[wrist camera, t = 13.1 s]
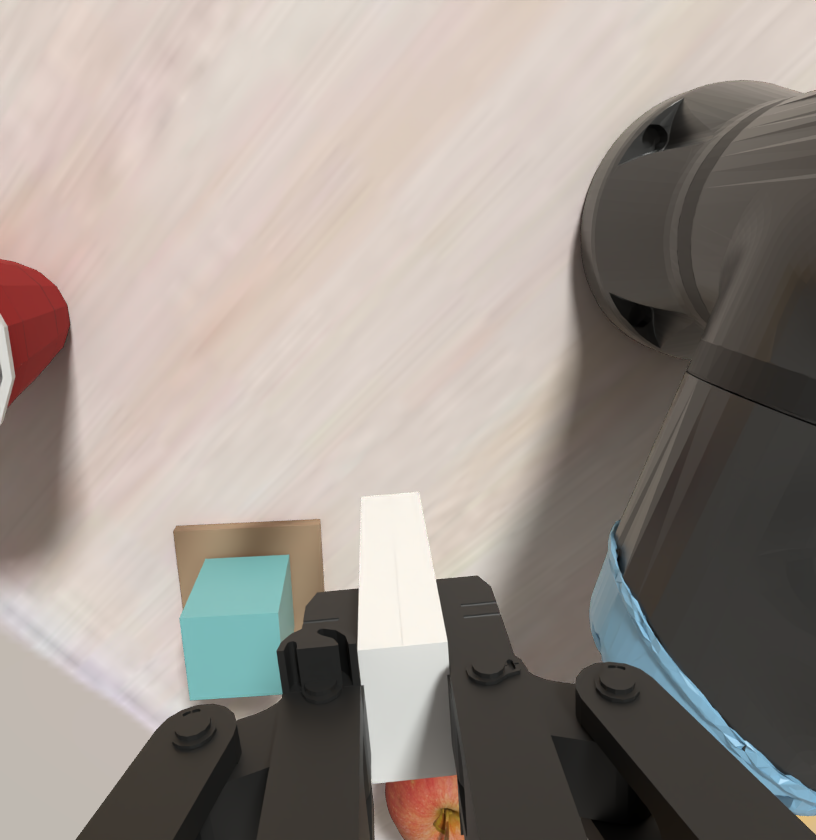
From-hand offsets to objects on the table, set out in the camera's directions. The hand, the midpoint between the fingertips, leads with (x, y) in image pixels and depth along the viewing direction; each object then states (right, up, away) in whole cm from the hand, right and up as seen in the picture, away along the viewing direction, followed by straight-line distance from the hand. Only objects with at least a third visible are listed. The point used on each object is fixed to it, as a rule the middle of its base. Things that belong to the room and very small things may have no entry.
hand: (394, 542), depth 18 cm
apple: (+3, -21, +32) cm, 38 cm away
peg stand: (-10, -8, +27) cm, 29 cm away
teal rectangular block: (-10, -8, +26) cm, 28 cm away
